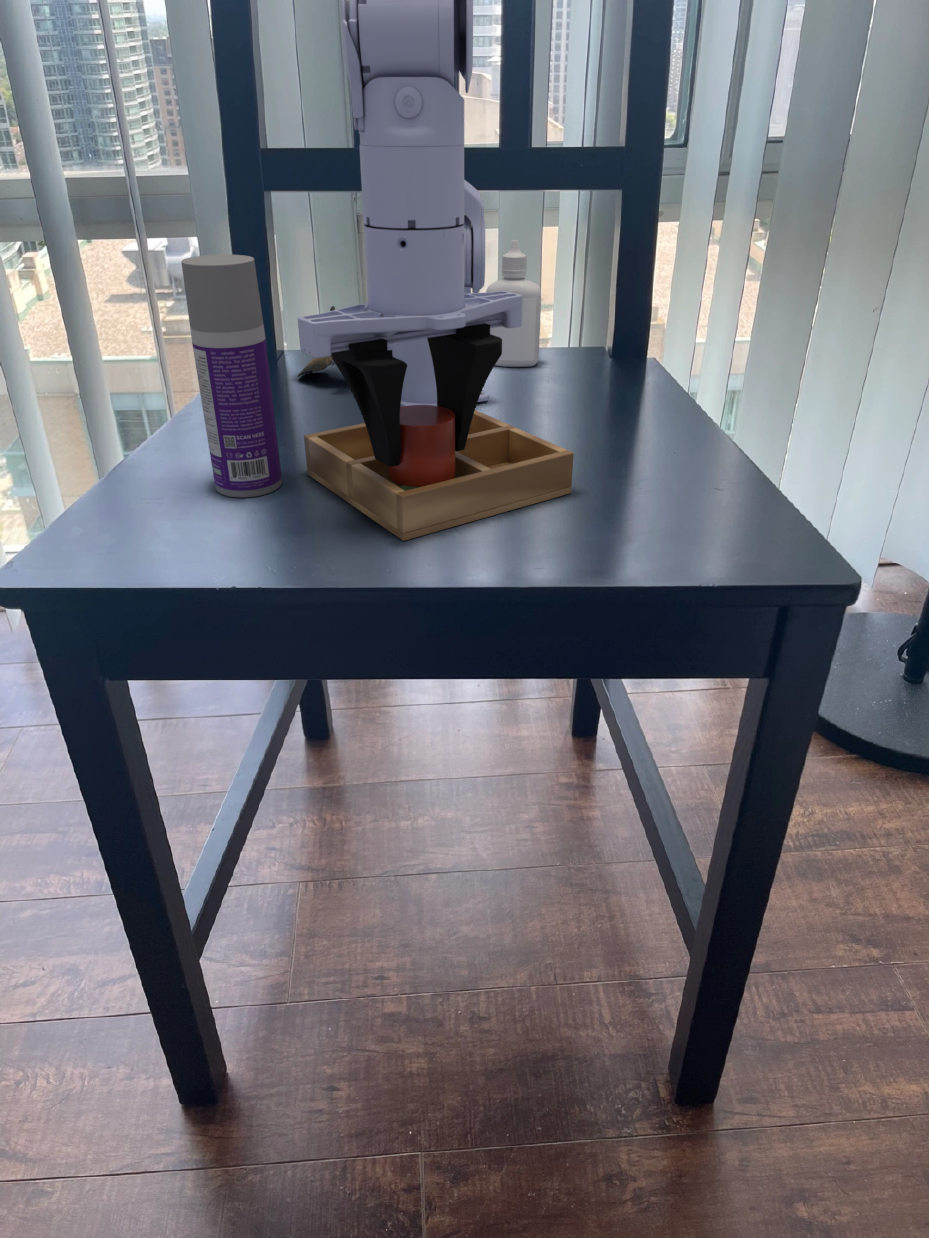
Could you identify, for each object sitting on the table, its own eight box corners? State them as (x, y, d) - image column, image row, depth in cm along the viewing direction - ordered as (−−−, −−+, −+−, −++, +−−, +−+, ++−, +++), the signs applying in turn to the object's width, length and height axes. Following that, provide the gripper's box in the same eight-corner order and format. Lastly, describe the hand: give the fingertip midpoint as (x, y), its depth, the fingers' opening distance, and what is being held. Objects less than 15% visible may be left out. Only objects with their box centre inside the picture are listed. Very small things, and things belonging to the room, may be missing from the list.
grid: (307, 474, 63) (303, 435, 61) (461, 439, 69) (461, 403, 68) (403, 541, 53) (401, 496, 52) (571, 493, 60) (574, 452, 58)
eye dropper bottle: (520, 372, 87) (525, 245, 81) (477, 363, 90) (478, 240, 84) (545, 363, 90) (551, 240, 84) (502, 355, 93) (505, 236, 87)
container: (294, 477, 62) (270, 256, 55) (260, 501, 58) (229, 267, 51) (238, 469, 64) (207, 252, 56) (202, 492, 60) (163, 263, 52)
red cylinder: (376, 471, 56) (372, 412, 54) (432, 458, 59) (431, 400, 57) (410, 492, 53) (408, 430, 51) (468, 478, 56) (468, 417, 53)
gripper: (331, 241, 42) (349, 498, 49) (558, 223, 49) (546, 449, 56) (272, 227, 47) (297, 462, 54) (486, 212, 54) (483, 421, 61)
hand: (420, 453), depth 55 cm, fingers closed on red cylinder, 4 cm apart
